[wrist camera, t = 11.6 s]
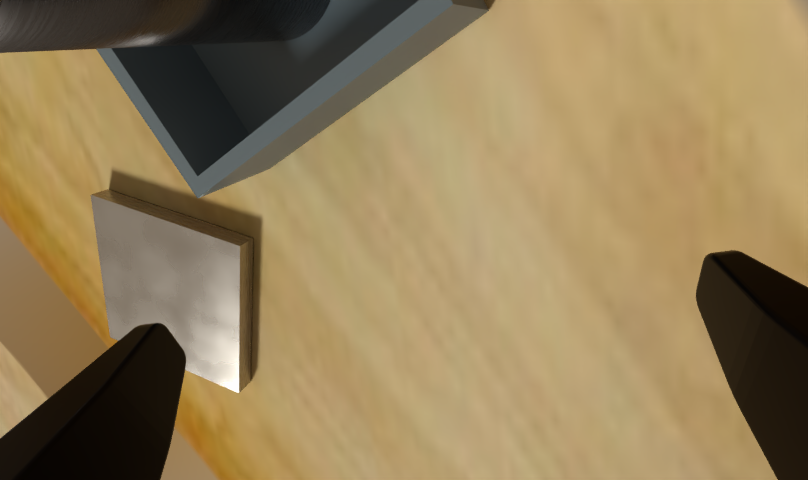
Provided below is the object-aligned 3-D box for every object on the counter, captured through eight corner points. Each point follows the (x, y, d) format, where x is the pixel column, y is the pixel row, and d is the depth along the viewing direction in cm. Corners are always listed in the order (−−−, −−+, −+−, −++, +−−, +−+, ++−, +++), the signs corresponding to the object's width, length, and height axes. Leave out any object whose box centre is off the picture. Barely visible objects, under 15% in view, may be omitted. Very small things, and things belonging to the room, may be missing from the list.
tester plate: (253, 238, 23) (240, 246, 23) (250, 381, 27) (238, 393, 27) (107, 189, 26) (90, 194, 25) (124, 328, 30) (110, 337, 29)
